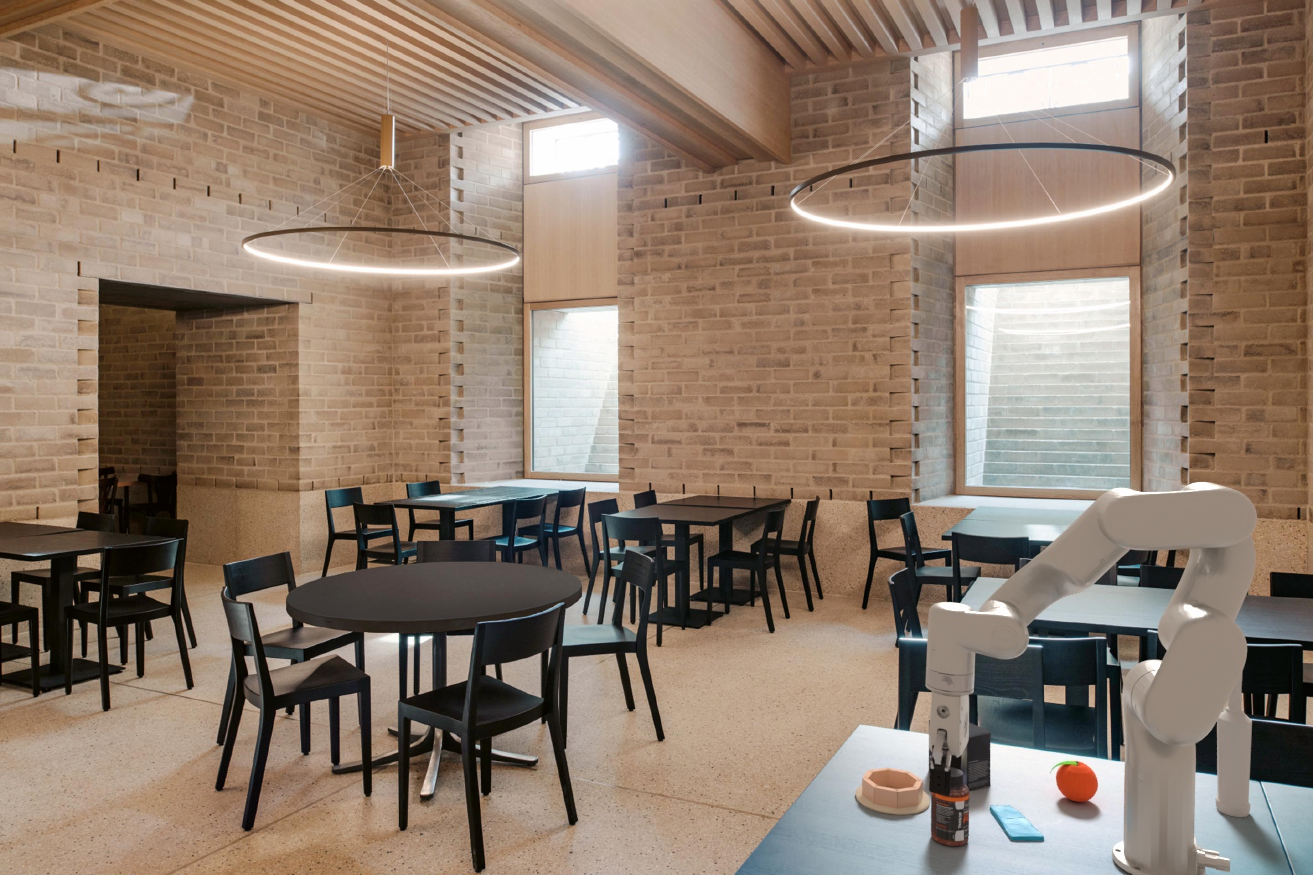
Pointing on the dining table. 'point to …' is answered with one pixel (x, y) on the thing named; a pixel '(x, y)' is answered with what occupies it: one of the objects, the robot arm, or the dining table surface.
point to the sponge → (1015, 824)
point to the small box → (975, 758)
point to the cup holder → (892, 792)
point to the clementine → (1076, 781)
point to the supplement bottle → (951, 813)
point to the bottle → (1233, 757)
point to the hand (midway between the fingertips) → (945, 782)
